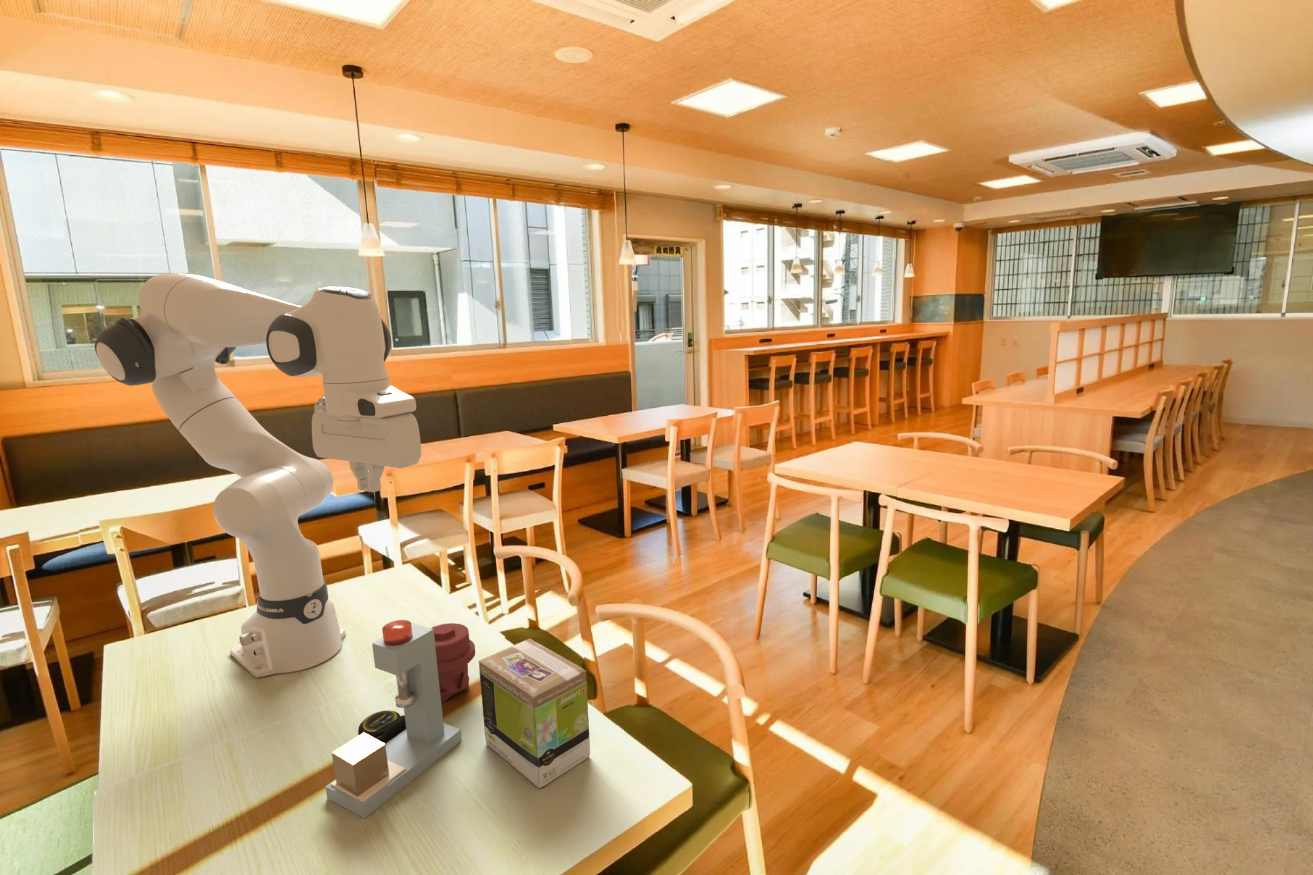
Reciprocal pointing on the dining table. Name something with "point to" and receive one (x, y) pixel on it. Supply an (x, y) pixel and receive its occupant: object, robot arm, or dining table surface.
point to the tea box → (535, 710)
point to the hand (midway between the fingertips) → (369, 490)
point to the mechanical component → (452, 658)
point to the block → (360, 764)
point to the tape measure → (383, 725)
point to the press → (407, 723)
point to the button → (399, 635)
